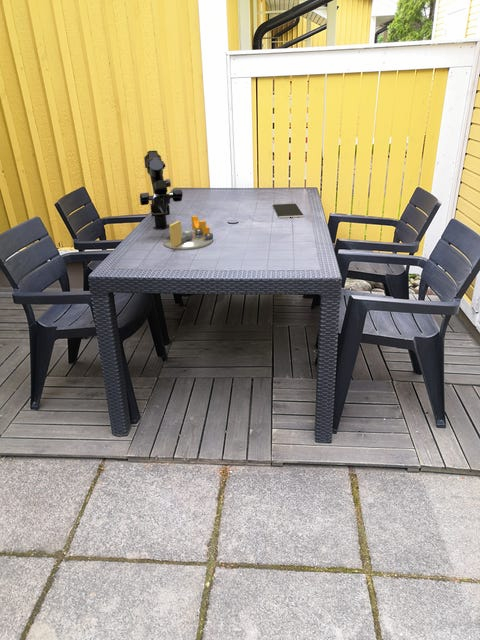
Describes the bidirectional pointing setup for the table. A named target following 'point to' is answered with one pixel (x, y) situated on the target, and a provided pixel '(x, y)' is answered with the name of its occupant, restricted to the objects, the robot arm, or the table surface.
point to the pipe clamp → (199, 225)
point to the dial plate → (192, 241)
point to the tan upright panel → (178, 234)
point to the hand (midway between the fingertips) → (164, 213)
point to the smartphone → (287, 211)
